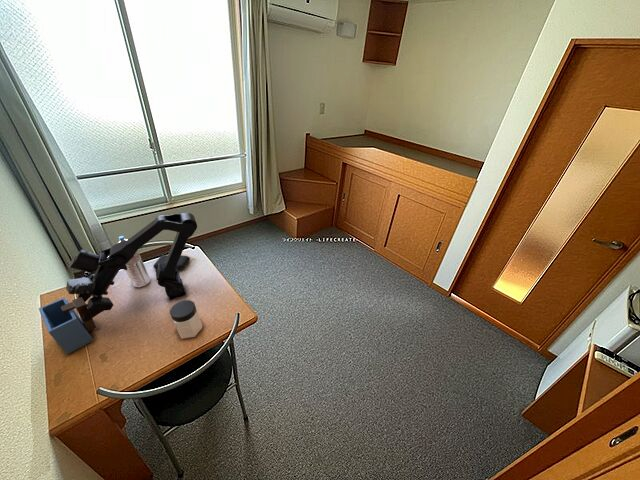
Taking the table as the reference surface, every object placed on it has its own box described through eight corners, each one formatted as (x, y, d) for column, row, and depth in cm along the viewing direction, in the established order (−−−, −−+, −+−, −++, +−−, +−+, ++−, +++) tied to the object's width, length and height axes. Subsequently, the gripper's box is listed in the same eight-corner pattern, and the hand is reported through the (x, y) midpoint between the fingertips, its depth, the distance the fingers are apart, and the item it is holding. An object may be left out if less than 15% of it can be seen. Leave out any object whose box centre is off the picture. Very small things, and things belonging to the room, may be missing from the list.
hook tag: (92, 320, 96) (81, 296, 90) (96, 327, 94) (86, 304, 88) (72, 328, 92) (59, 304, 86) (76, 336, 90) (63, 312, 84)
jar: (174, 340, 93) (165, 319, 86) (179, 322, 99) (171, 301, 92) (201, 336, 94) (194, 315, 88) (204, 319, 101) (197, 298, 94)
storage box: (81, 319, 97) (65, 296, 90) (93, 340, 90) (76, 318, 84) (57, 330, 93) (38, 308, 86) (67, 354, 86) (48, 332, 79)
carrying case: (151, 272, 121) (183, 273, 122) (149, 267, 119) (181, 268, 120) (162, 258, 129) (191, 259, 130) (160, 253, 128) (190, 254, 129)
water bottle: (146, 275, 119) (126, 230, 105) (153, 282, 116) (134, 236, 102) (130, 283, 114) (107, 237, 100) (137, 290, 111) (115, 244, 97)
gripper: (69, 259, 89) (44, 298, 88) (86, 285, 80) (58, 329, 79) (105, 266, 99) (83, 301, 98) (124, 289, 89) (99, 329, 88)
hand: (80, 314), depth 90 cm, fingers open, 9 cm apart
